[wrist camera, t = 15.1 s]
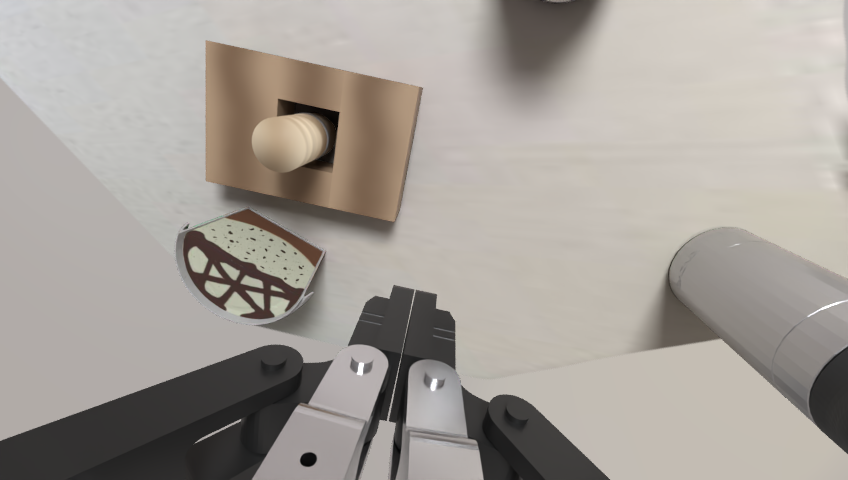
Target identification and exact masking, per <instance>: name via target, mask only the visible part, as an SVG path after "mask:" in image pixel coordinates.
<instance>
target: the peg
mask: <svg viewBox="0 0 848 480" xmlns="http://www.w3.org/2000/svg"><path fill="white" fill-rule="evenodd" d="M335 139H336V129H335V126H334V124H333V123H332V122H331V121H330V120H329V119H328V118H326V117H325V116H324V115H322V114H320V113H316V112H308V113H297V114H294V115H286V116H279V117H272V118H267V119H265V120H263V121H261V122H260V123H259V124H258V125H257V126H256V128H255V129H254V132H253V135H252V148H253V151H254V154H255V156H256V157H257V159H258V160H259V161H260V163H261V164H262V165H263V166H265V167H266V168H268V169H269V170H272V171H275V172H279V173H285V172H290V171H292V170H294V169H296V168H298V167H300V166H302V165H305V164H307V163H309V162H311V161H314V160H316V159H318V158H320V157H322V156H323V155H325V154H327V153H328V152H330V151H331V149H332V148H333V146H334V144H335Z"/></svg>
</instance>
